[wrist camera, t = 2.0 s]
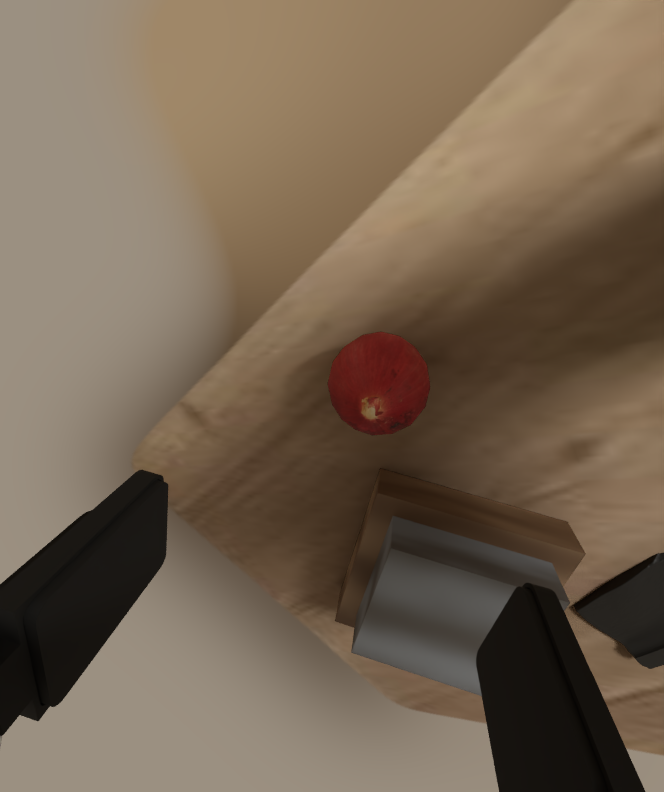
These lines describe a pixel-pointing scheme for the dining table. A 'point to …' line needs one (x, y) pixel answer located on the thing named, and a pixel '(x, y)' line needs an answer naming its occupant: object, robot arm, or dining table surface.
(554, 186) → the dining table surface
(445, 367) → the dining table surface
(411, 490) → the wood and metal stack
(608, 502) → the dining table surface
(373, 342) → the onion
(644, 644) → the curved wedge
